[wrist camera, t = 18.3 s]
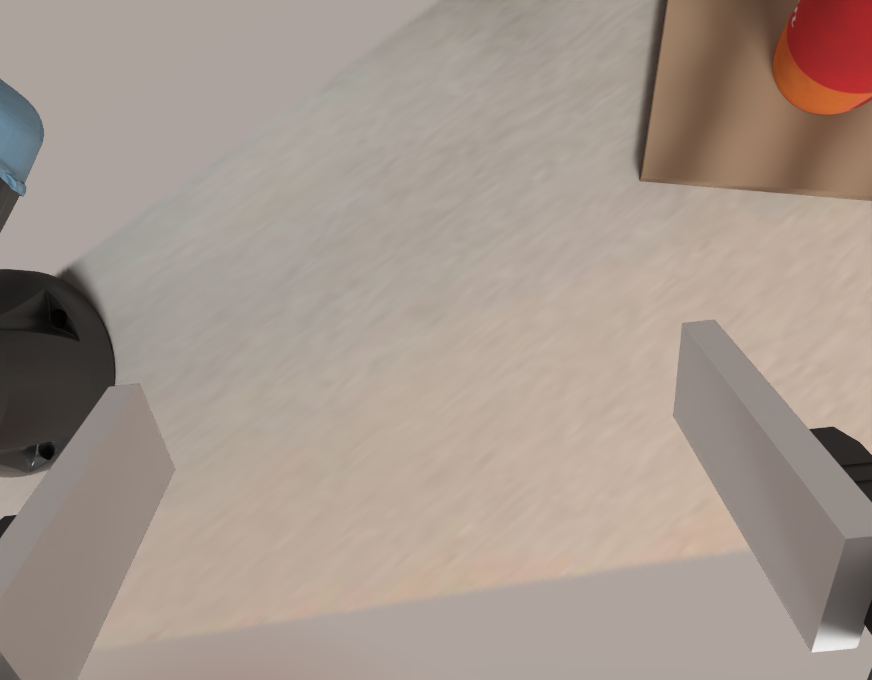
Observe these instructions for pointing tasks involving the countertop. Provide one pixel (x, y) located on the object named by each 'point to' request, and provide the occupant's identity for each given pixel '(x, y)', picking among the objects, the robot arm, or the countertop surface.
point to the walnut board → (744, 110)
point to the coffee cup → (826, 56)
